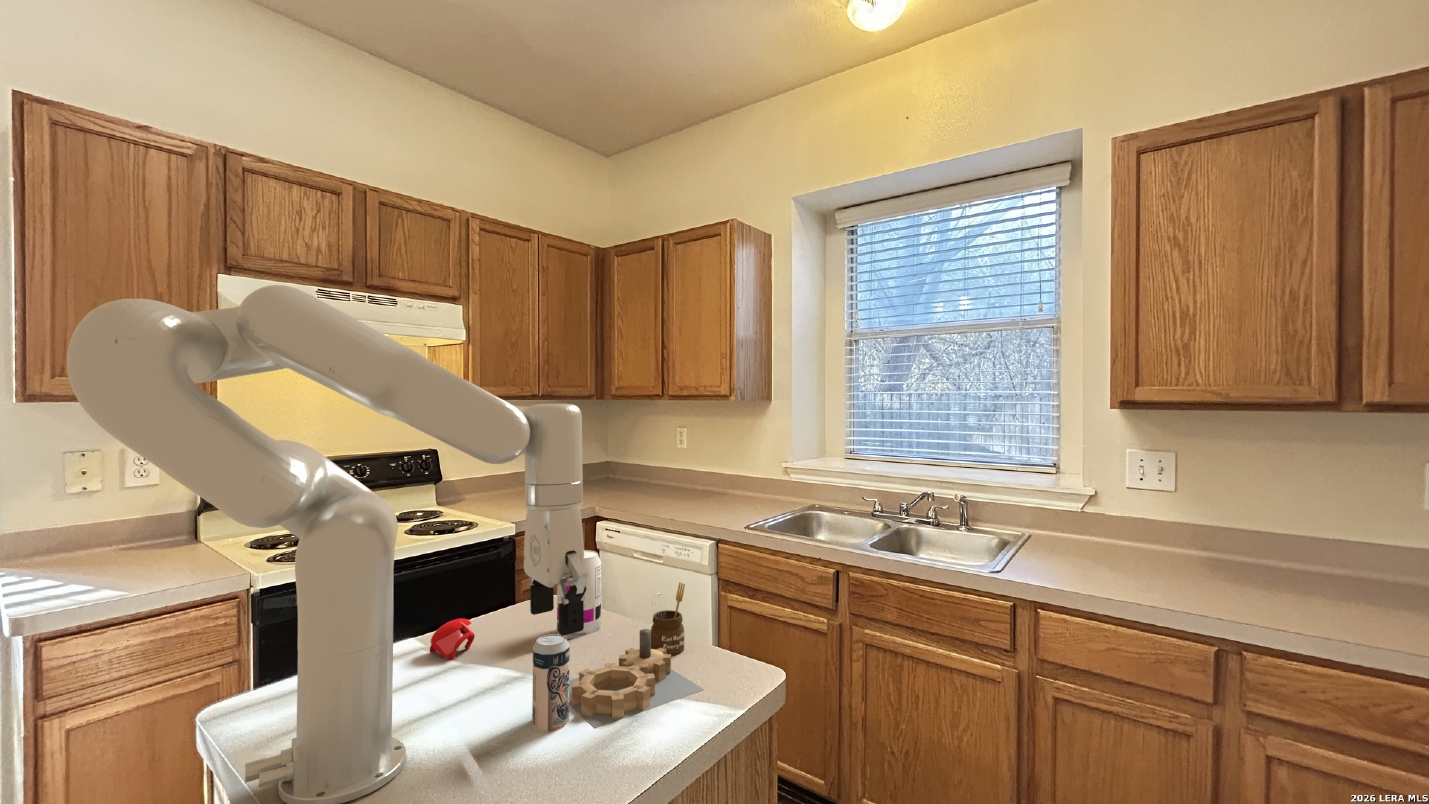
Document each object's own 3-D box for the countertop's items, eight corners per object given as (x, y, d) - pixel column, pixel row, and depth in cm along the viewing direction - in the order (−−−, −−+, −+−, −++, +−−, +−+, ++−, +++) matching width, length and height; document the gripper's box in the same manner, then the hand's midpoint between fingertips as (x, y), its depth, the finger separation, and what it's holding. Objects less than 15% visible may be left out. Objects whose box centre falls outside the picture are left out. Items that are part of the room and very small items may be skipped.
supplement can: (578, 644, 109) (579, 561, 109) (547, 634, 113) (548, 555, 114) (609, 630, 116) (610, 553, 116) (579, 622, 120) (579, 547, 120)
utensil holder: (643, 654, 104) (644, 585, 105) (671, 645, 109) (672, 579, 109) (663, 665, 100) (664, 593, 100) (692, 655, 104) (693, 586, 104)
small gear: (642, 688, 89) (642, 645, 89) (608, 672, 95) (608, 631, 95) (681, 671, 95) (681, 630, 95) (647, 656, 101) (647, 618, 101)
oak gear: (595, 727, 78) (595, 707, 79) (559, 693, 88) (559, 676, 88) (669, 701, 86) (669, 683, 86) (628, 672, 95) (628, 656, 95)
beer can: (558, 741, 77) (559, 647, 77) (525, 736, 78) (526, 644, 78) (574, 722, 82) (575, 634, 82) (542, 718, 83) (543, 631, 83)
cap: (486, 629, 107) (463, 608, 109) (472, 629, 102) (447, 608, 103) (456, 668, 105) (432, 647, 107) (440, 671, 100) (415, 649, 101)
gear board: (594, 735, 78) (594, 728, 78) (549, 692, 90) (549, 685, 90) (704, 696, 89) (704, 689, 89) (651, 662, 101) (651, 656, 101)
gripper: (505, 491, 85) (506, 611, 85) (553, 506, 71) (555, 649, 71) (555, 486, 89) (556, 600, 89) (609, 499, 76) (611, 634, 76)
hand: (556, 622), depth 80 cm, fingers open, 9 cm apart
